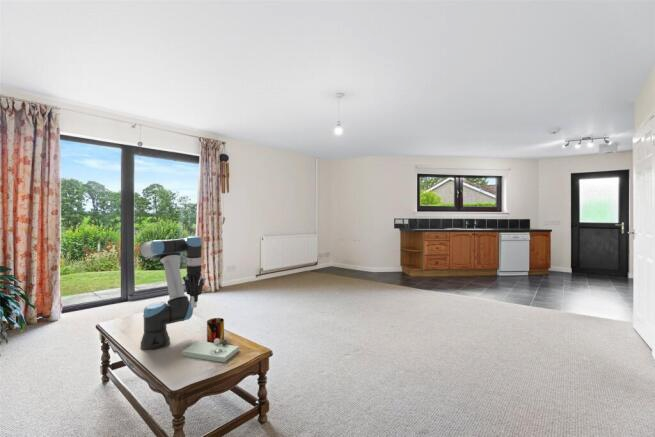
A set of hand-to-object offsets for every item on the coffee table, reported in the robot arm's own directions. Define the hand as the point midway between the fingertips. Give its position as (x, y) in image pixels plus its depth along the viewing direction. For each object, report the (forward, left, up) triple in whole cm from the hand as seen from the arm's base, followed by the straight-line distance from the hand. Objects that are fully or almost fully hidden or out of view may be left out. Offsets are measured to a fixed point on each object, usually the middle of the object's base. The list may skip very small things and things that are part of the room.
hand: (194, 307), depth 179 cm
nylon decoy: (+9, +8, -21) cm, 24 cm away
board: (+9, +2, -25) cm, 27 cm away
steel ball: (+15, -1, -23) cm, 28 cm away
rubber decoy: (+14, +7, -21) cm, 26 cm away
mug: (+3, +16, -25) cm, 30 cm away
